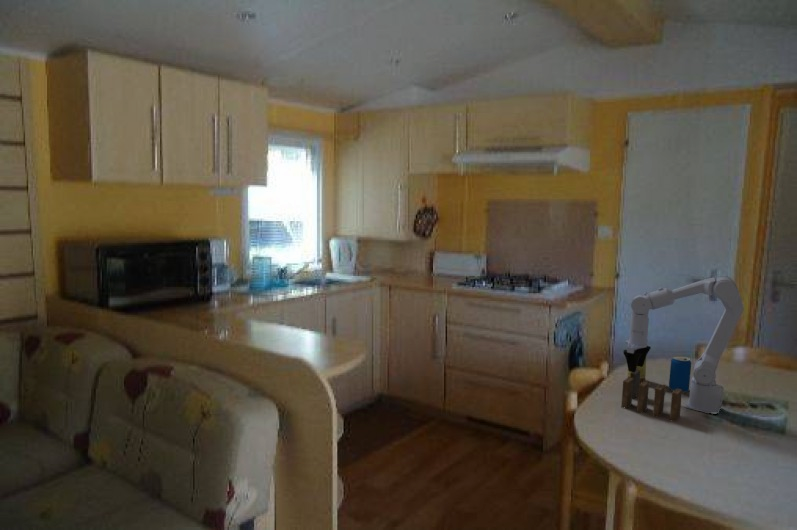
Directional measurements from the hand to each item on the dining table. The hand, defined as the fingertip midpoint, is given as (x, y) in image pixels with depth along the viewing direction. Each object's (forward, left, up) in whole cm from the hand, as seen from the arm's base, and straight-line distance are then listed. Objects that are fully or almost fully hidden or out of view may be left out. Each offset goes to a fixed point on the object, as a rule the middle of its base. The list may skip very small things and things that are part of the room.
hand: (635, 368), depth 194 cm
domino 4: (-11, +10, -10) cm, 18 cm away
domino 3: (-6, +10, -10) cm, 15 cm away
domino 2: (0, 0, -10) cm, 10 cm away
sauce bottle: (+5, -17, -10) cm, 20 cm away
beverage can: (-10, -17, -10) cm, 22 cm away
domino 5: (-16, +10, -10) cm, 21 cm away
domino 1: (-1, +10, -10) cm, 14 cm away
